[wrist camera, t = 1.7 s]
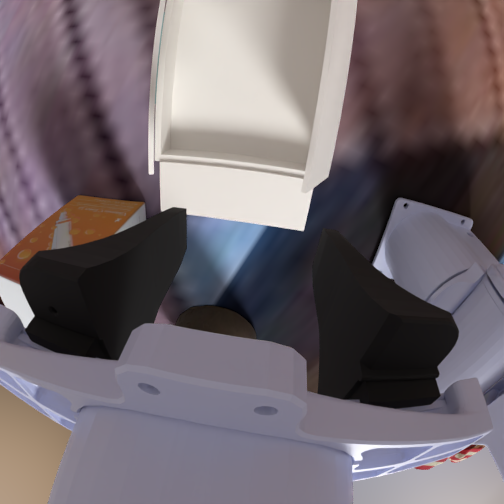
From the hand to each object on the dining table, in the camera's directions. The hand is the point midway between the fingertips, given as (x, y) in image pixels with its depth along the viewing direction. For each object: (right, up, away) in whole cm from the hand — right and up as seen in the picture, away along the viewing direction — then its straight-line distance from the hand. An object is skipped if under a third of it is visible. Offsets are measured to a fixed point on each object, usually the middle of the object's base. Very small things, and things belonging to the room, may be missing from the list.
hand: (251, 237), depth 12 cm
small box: (-14, +2, +13) cm, 19 cm away
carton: (0, +13, +4) cm, 13 cm away
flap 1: (-5, +11, +1) cm, 12 cm away
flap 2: (+5, +9, 0) cm, 10 cm away
